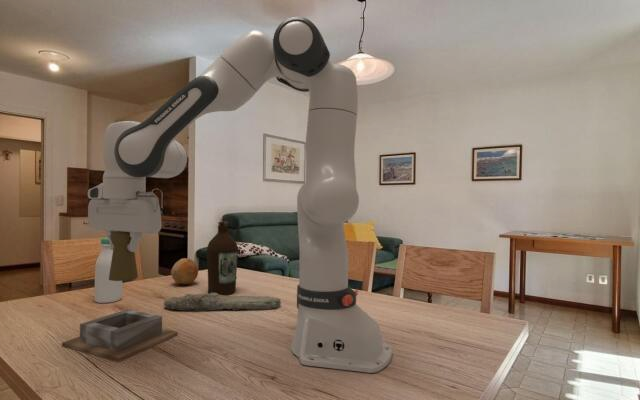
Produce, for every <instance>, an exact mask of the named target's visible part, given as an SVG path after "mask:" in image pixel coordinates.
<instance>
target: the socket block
mask: <svg viewBox="0 0 640 400" xmlns="http://www.w3.org/2000/svg"><path fill="white" fill-rule="evenodd" d="M178 335H179V334H178V331H177V330H170V329H166V328H163V316H162V315H158V314H155V313H154V314H153V313H147V312H142V311H139V310H138V311H137V310H133V309H132V310H131V309H124V310H120V311H117V312H114V313H111V314H109V315H108V314H107V315H105V316H101V317H98V318H95V319H92V320H89V321H86V322H82V323H80V324H79V336H78V337H74V338H71V339H69V340H66V341H63V342H61V347H63V348H68V349H71V350H75V351H78V352H82V353H86V354H89V355H94V356H97V357H100V358H104V359H107V360H111V361H115V362H118V363H119V362H121V361H123V360H126V359H127V358H130V357H131V356H134V355H136V354H137V355H138V353H141V352H143V351H145V350H148V349H150V348H153V347H154V346H156V345H159V344H161V343H163V342H165V341H168V340H170V339H172V338H174V337H177V336H178Z"/></svg>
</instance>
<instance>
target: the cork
mask: <svg viewBox="0 0 640 400" xmlns="http://www.w3.org/2000/svg"><path fill="white" fill-rule="evenodd" d="M131 238H132V237H130V232H121V231H117V232H114V233H113V234H112V237H111V241H112V244H113V245H114V248H113V255H112V261H111V267H110V274H109V280H111V281H122V282H124V281H131V280H136V279H137V278H138V277H139V276H138V268H137V261H136V260H137V259H136V254H135V253H136V252H128V251H127V244H130V241H131Z"/></svg>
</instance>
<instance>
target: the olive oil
mask: <svg viewBox="0 0 640 400" xmlns="http://www.w3.org/2000/svg"><path fill="white" fill-rule="evenodd" d="M228 231H229V225H228V221H218V225H217V233H216V234H214V236H213V237H212V238H211V240H210V241H209V242H208V244H207V247H206V258H207V262H206V263H207V294H210V293H217V294H218V295H225V296H230V295H233V294H235V293H236V291H237V290H236V289H237V286H236V285H237V268H238V256H239V254H238V253H239V248H238V243H237V242H236V240H235V238H234V237H232V236H231V234H230V233H229V232H228Z"/></svg>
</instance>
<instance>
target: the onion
mask: <svg viewBox="0 0 640 400" xmlns="http://www.w3.org/2000/svg"><path fill="white" fill-rule="evenodd" d="M170 273H171V274H170V275H171V277H172V279H173V281H174V283H176V284H177V285H185V286H188V285H190V284H192V283H193V282H195V281H196V280H197V277H198V275H199V268H198V265H197V263H196V262H195V261H194V260H192V259H190V258H186V257H184V258H180V259H179V260H177V261H176V262H175V263H174V265H173V266H172V267H171V272H170Z"/></svg>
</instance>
